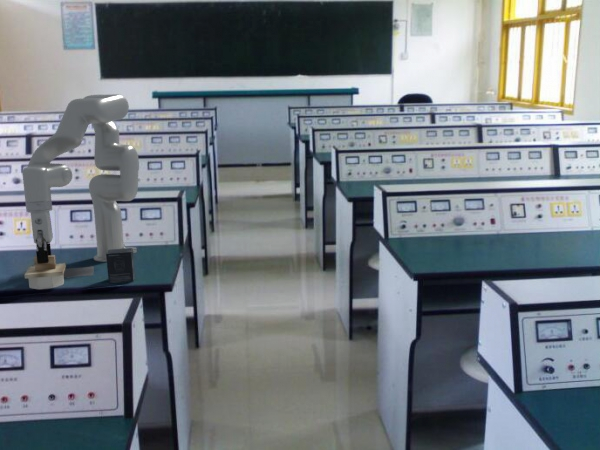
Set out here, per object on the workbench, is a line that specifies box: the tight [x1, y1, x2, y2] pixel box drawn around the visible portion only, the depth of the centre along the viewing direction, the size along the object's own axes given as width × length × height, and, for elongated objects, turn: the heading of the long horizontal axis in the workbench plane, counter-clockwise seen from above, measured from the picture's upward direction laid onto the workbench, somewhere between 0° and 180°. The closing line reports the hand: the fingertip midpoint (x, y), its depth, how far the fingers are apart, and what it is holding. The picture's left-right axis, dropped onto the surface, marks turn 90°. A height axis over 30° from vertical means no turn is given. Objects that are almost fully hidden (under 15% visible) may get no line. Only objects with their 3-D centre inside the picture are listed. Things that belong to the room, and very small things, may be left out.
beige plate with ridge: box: [24, 254, 67, 279], centre depth 196 cm, size 11×11×5 cm
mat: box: [63, 266, 95, 279], centre depth 211 cm, size 12×12×1 cm
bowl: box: [27, 275, 65, 290], centre depth 197 cm, size 10×10×4 cm
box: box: [106, 248, 136, 284], centre depth 200 cm, size 8×6×11 cm
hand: (44, 259), depth 196 cm, fingers open, 9 cm apart
